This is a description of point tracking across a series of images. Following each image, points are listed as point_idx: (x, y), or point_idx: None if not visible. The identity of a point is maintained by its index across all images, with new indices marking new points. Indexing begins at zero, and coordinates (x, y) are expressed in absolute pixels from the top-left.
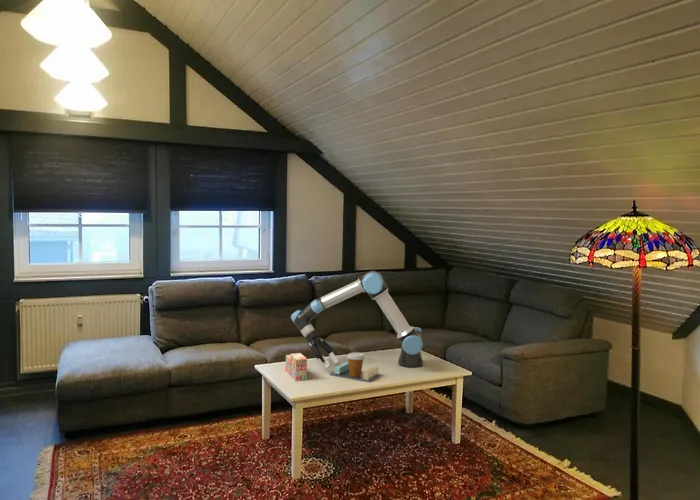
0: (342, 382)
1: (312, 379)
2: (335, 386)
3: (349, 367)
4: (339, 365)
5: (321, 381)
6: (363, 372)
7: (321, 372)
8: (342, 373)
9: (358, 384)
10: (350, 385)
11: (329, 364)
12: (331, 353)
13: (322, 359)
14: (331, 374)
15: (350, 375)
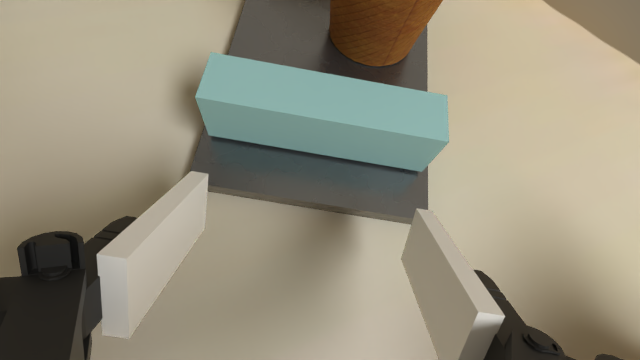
0: (519, 87)
1: (621, 325)
2: (616, 104)
3: (436, 5)
4: (364, 119)
5: (604, 226)
6: (273, 2)
7: (381, 340)
8: None
9: (490, 5)
10: (536, 36)
11: (429, 212)
12: (138, 265)
13: (504, 305)
14: (425, 204)
15: (406, 52)
